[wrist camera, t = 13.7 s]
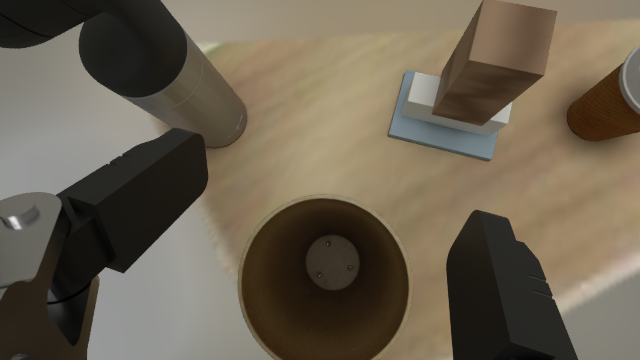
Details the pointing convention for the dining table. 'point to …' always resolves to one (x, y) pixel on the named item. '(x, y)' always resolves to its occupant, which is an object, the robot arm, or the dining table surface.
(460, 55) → the post
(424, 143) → the butter dish
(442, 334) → the dining table surface
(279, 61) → the dining table surface
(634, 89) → the disposable coffee cup
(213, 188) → the dining table surface
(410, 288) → the plant pot
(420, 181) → the dining table surface
